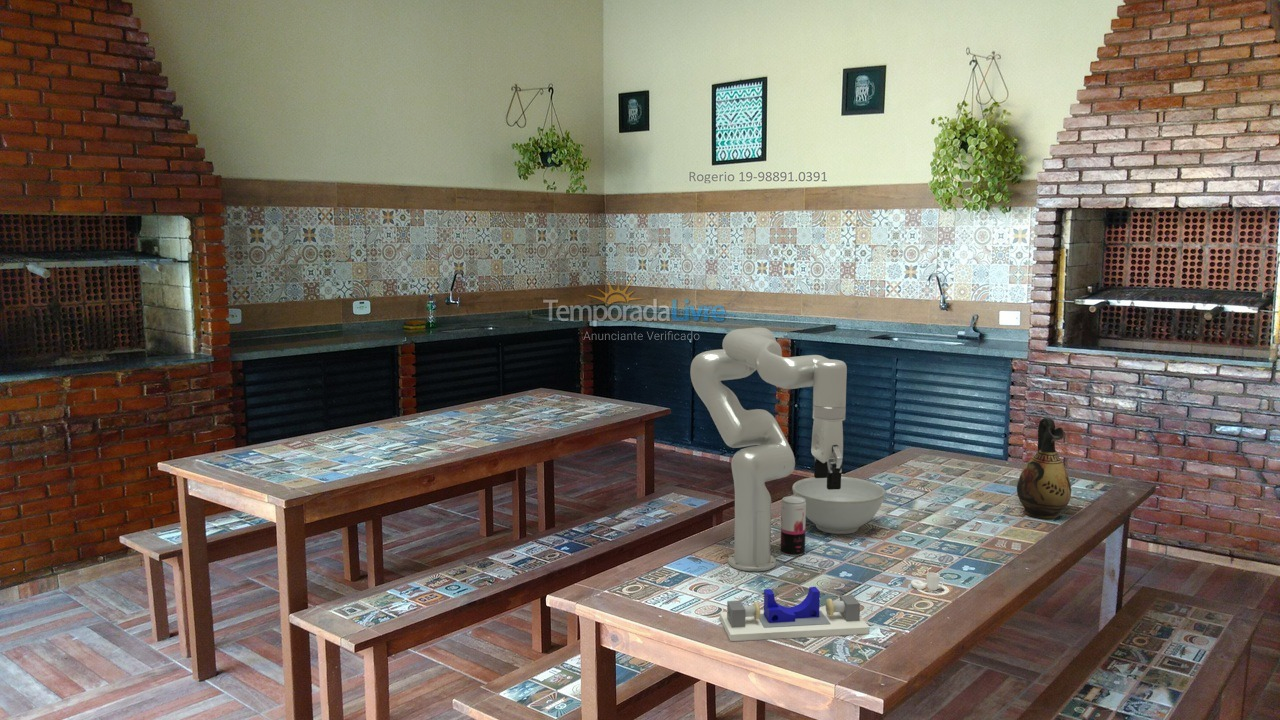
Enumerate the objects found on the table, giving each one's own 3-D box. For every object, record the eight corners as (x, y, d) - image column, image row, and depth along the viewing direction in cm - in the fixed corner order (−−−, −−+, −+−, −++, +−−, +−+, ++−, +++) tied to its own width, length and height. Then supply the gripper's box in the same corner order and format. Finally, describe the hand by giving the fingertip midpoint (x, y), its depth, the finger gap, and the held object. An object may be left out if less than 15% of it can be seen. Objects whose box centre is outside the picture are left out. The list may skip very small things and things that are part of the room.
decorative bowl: (876, 515, 288) (877, 477, 286) (890, 544, 262) (892, 502, 260) (788, 512, 291) (789, 474, 289) (794, 541, 264) (795, 500, 263)
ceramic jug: (1078, 522, 280) (1085, 425, 276) (1026, 522, 281) (1032, 425, 276) (1054, 505, 297) (1060, 413, 293) (1006, 505, 297) (1011, 413, 293)
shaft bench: (719, 618, 213) (719, 594, 212) (850, 611, 216) (851, 587, 216) (730, 641, 201) (730, 615, 200) (869, 633, 205) (870, 608, 204)
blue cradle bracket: (768, 623, 206) (769, 597, 205) (763, 614, 211) (764, 589, 210) (821, 620, 208) (822, 594, 207) (815, 611, 212) (815, 586, 211)
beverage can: (804, 557, 252) (805, 503, 249) (779, 555, 253) (780, 502, 251) (805, 549, 258) (806, 496, 256) (781, 547, 259) (782, 495, 257)
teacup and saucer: (906, 589, 230) (906, 573, 230) (922, 581, 236) (923, 565, 235) (938, 599, 224) (939, 583, 224) (955, 590, 230) (955, 574, 229)
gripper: (802, 405, 226) (801, 474, 229) (824, 420, 209) (822, 494, 212) (832, 405, 227) (830, 473, 230) (857, 419, 210) (854, 493, 213)
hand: (827, 483), depth 221 cm, fingers open, 9 cm apart
